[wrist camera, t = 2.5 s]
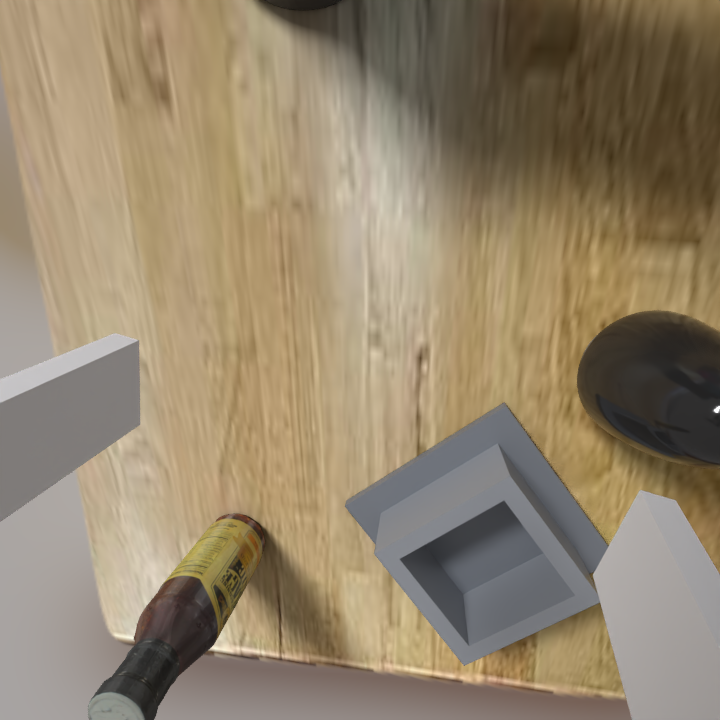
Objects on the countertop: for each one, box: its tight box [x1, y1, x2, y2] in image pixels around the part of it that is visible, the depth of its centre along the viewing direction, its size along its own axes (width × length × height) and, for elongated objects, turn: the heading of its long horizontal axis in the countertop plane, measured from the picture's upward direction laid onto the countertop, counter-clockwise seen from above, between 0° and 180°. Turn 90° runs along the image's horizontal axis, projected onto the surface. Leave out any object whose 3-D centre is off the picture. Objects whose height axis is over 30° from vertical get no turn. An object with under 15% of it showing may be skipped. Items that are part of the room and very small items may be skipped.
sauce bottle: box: [88, 514, 265, 720], centre depth 38 cm, size 6×6×20 cm
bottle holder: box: [345, 403, 609, 666], centre depth 40 cm, size 18×18×7 cm
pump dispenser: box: [577, 310, 720, 469], centre depth 31 cm, size 10×10×15 cm
